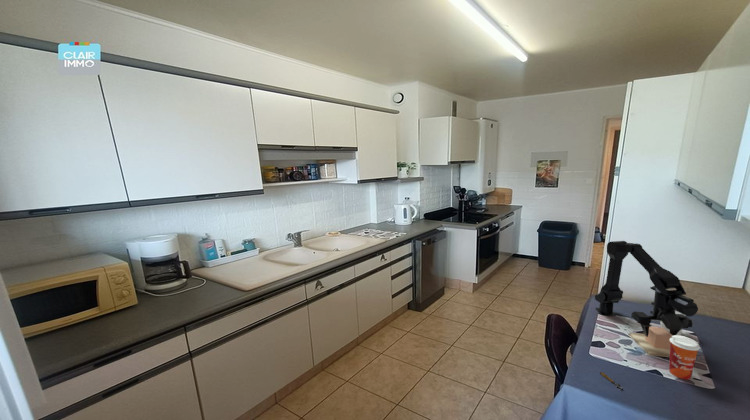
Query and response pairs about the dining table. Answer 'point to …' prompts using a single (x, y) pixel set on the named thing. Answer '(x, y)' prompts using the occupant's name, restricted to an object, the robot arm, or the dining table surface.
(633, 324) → the dining table surface
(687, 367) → the paper cup
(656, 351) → the birch board
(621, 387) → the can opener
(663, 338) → the terracotta cube
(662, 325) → the white cup
